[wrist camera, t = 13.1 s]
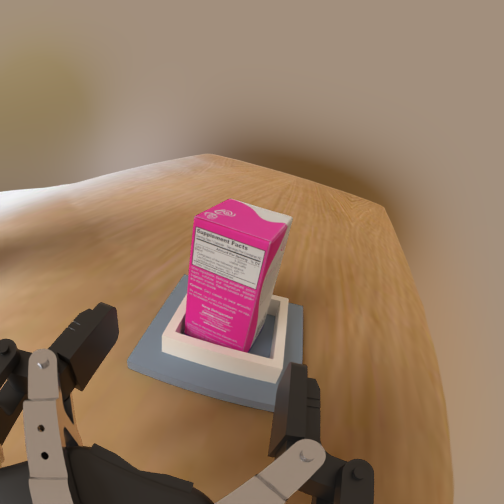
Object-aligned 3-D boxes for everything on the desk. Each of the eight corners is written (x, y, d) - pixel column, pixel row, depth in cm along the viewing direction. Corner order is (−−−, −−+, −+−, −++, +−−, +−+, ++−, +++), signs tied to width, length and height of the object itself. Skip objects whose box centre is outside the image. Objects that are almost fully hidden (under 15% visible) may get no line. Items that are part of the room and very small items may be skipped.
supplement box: (210, 303, 29) (230, 195, 23) (264, 326, 27) (298, 217, 22) (180, 336, 24) (193, 212, 18) (241, 365, 22) (277, 242, 17)
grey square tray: (128, 367, 20) (124, 343, 19) (183, 281, 33) (185, 259, 31) (296, 416, 20) (309, 396, 18) (300, 312, 32) (308, 292, 31)
